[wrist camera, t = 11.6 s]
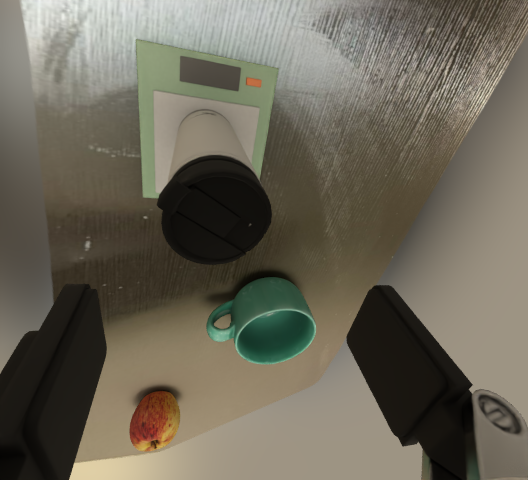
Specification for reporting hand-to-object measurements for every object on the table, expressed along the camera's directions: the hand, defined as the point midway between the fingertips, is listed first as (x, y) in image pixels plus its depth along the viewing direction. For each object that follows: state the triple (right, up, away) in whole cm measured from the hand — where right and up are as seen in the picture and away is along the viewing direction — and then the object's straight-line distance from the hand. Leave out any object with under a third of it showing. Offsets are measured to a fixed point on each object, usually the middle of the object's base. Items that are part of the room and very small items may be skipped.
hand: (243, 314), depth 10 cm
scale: (-6, +15, +24) cm, 29 cm away
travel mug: (-6, +14, +22) cm, 27 cm away
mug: (-1, -7, +40) cm, 41 cm away
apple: (-21, -30, +50) cm, 62 cm away
